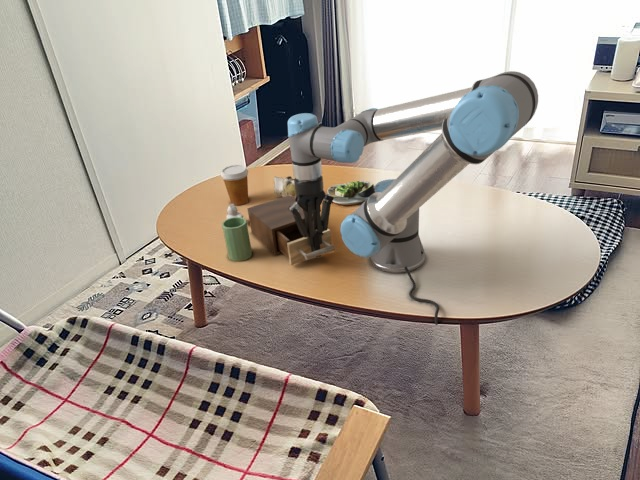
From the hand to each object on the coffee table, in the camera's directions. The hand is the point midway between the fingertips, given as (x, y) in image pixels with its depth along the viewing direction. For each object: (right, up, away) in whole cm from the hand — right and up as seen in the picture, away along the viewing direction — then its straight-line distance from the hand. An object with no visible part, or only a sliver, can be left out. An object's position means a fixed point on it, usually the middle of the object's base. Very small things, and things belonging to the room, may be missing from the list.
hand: (316, 255), depth 160 cm
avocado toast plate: (+13, +25, +37) cm, 46 cm away
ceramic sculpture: (-9, +24, +39) cm, 47 cm away
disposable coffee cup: (-28, +24, +42) cm, 56 cm away
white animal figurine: (-27, +13, +27) cm, 41 cm away
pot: (-23, +1, +10) cm, 26 cm away
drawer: (-4, +2, +7) cm, 9 cm away
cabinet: (-10, +8, +17) cm, 22 cm away
